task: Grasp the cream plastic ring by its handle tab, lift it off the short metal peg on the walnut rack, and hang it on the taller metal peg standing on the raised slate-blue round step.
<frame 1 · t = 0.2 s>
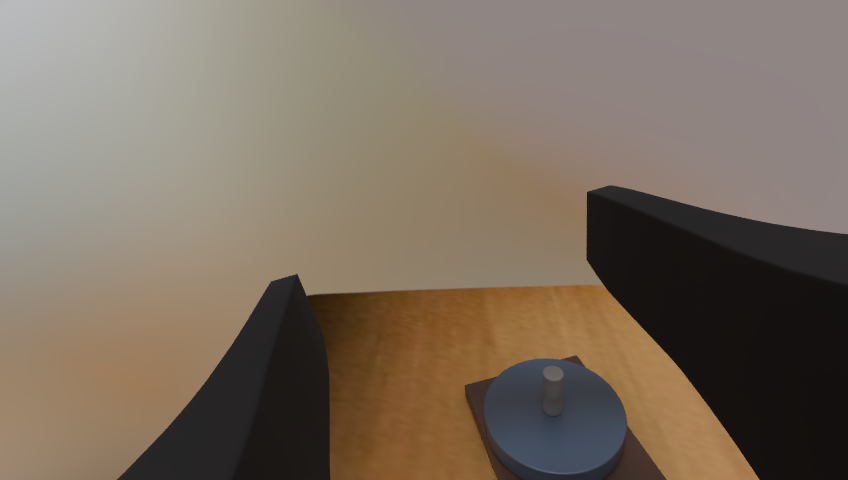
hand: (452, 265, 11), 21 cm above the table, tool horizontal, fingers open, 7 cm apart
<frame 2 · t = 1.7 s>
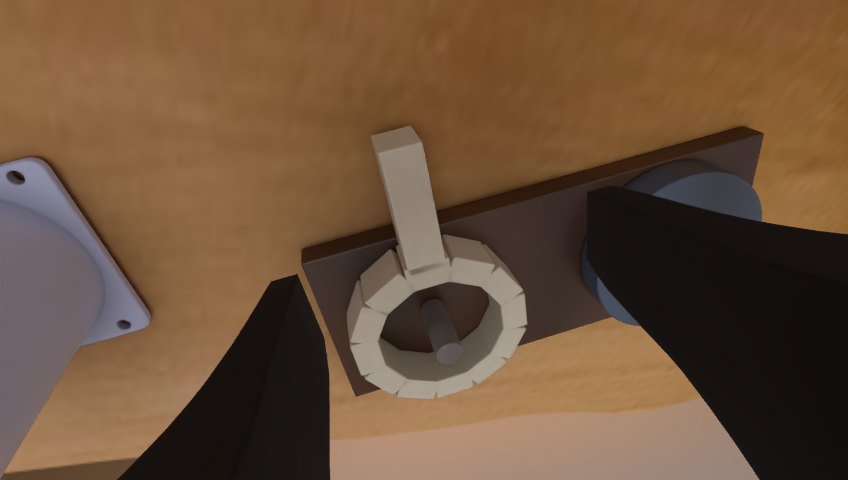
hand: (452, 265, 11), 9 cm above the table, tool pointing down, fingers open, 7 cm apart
rack: (537, 260, 24), on the table
ring: (432, 307, 22), point 1 cm above the table, touching rack
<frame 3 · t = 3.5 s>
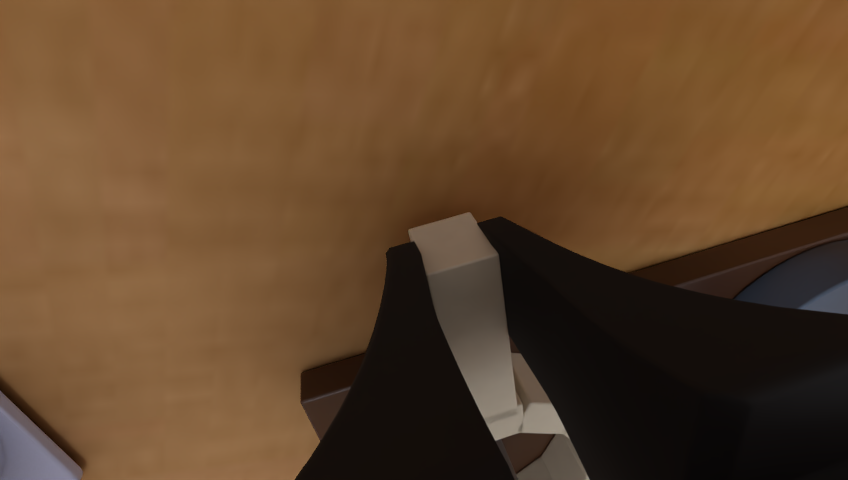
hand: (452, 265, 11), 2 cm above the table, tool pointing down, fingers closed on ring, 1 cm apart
rack: (621, 363, 17), on the table
ring: (482, 439, 16), point 1 cm above the table, touching gripper, rack
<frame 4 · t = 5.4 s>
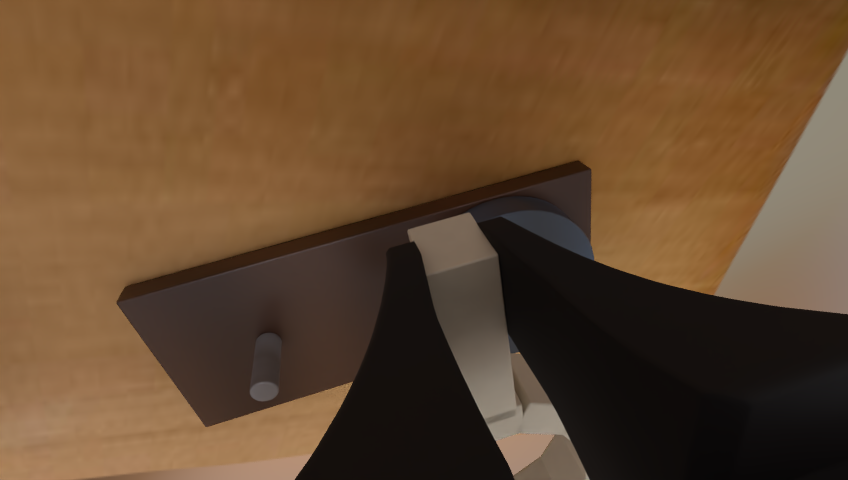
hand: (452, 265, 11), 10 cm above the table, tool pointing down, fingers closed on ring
rack: (384, 291, 24), on the table
ring: (481, 440, 16), point 10 cm above the table, touching gripper
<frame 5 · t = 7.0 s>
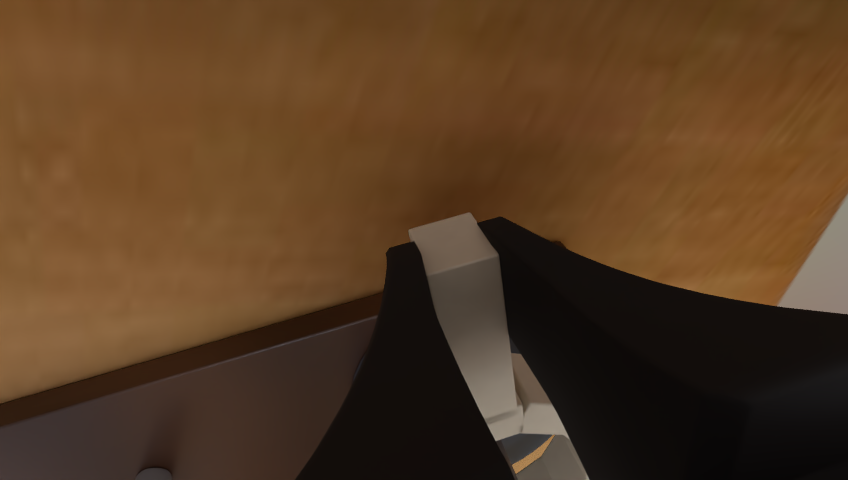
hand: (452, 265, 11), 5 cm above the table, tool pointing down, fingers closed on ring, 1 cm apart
rack: (311, 402, 19), on the table
ring: (482, 440, 16), point 4 cm above the table, touching gripper
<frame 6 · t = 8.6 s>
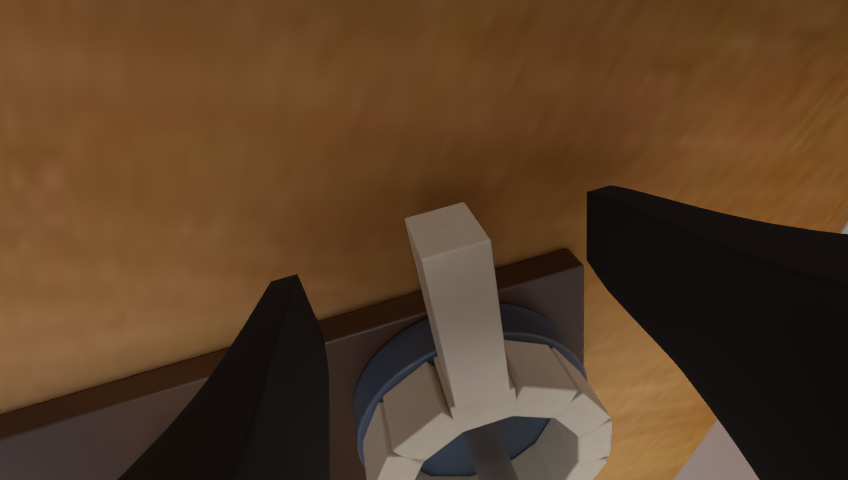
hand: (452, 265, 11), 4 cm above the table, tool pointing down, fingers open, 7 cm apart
rack: (312, 413, 18), on the table
ring: (477, 425, 16), point 3 cm above the table, touching rack
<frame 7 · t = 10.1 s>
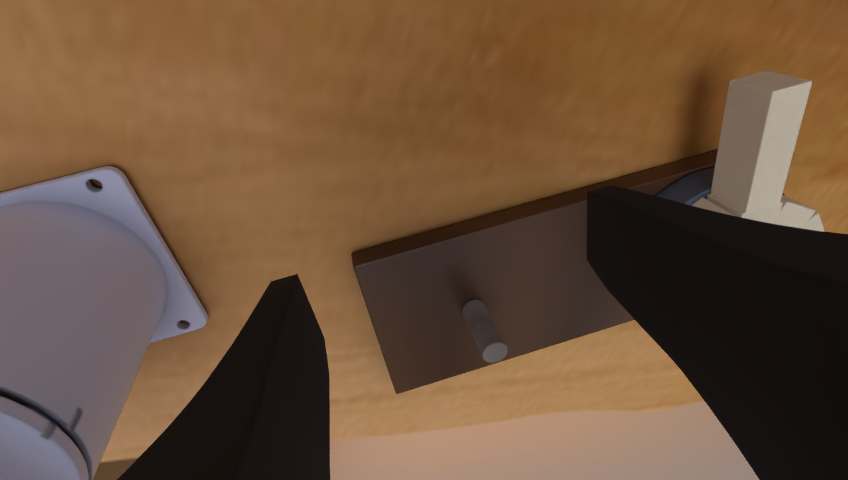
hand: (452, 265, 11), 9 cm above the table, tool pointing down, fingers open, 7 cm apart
rack: (572, 262, 25), on the table
ring: (712, 259, 23), point 3 cm above the table, touching rack
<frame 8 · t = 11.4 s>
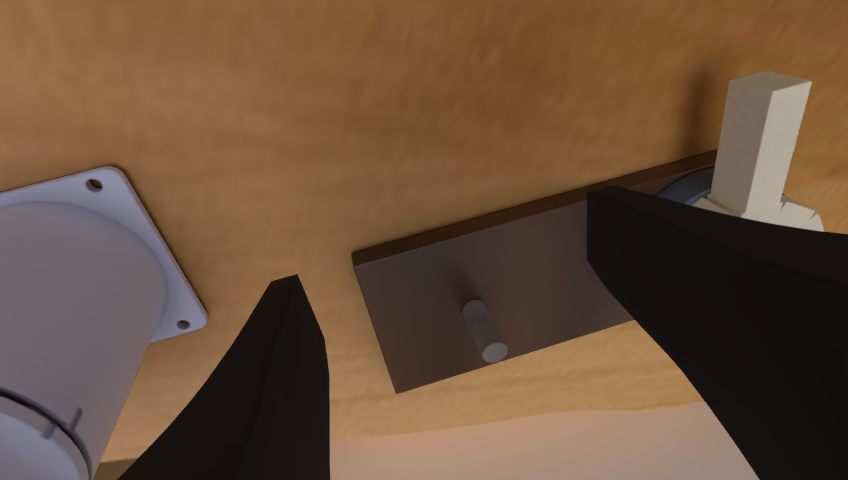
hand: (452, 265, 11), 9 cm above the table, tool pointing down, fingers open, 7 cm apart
rack: (572, 262, 25), on the table
ring: (712, 259, 23), point 3 cm above the table, touching rack
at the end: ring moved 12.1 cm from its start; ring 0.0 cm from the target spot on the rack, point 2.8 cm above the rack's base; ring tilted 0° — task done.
